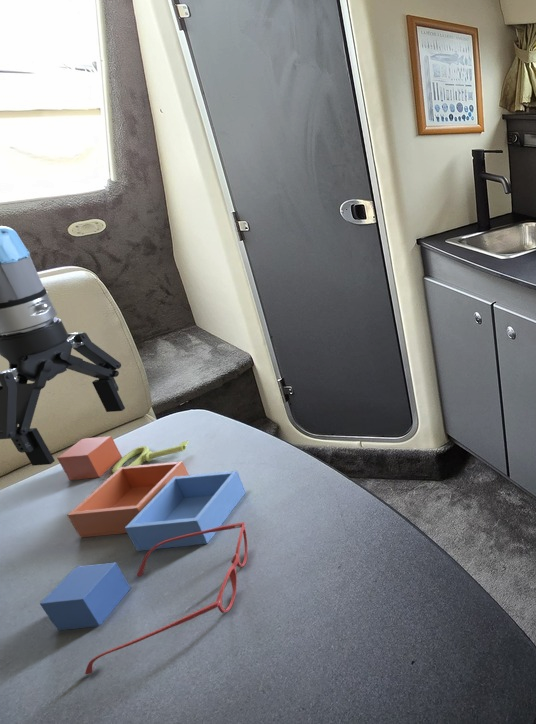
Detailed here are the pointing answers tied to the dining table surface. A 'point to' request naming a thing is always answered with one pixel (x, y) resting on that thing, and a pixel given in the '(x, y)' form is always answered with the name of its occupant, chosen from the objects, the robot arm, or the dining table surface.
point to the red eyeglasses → (218, 603)
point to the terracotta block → (90, 458)
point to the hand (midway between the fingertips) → (82, 435)
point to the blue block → (86, 596)
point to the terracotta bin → (122, 498)
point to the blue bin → (186, 510)
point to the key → (148, 455)
